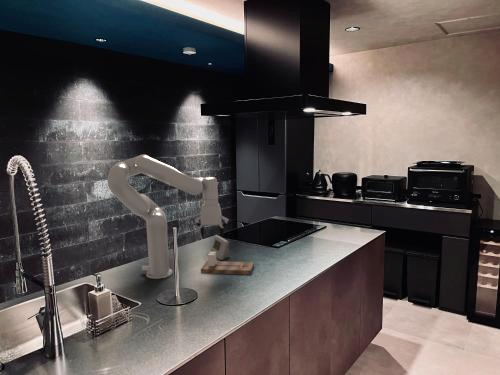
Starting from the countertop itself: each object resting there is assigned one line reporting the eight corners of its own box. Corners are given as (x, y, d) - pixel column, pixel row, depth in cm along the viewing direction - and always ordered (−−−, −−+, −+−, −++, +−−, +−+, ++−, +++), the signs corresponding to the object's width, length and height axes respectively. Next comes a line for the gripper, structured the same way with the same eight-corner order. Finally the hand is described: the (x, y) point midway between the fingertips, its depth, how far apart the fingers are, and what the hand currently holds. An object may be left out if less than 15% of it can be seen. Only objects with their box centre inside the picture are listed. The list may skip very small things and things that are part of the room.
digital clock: (209, 252, 221) (209, 235, 220) (224, 251, 224) (224, 233, 222) (215, 261, 206) (214, 242, 205) (231, 260, 209) (231, 241, 207)
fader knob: (208, 266, 193) (207, 254, 192) (210, 262, 198) (210, 251, 197) (214, 266, 192) (213, 254, 191) (216, 263, 197) (216, 251, 196)
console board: (201, 272, 190) (200, 268, 190) (206, 264, 202) (206, 260, 201) (250, 274, 187) (250, 270, 186) (253, 266, 198) (253, 262, 198)
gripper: (191, 203, 188) (193, 237, 190) (226, 203, 185) (227, 237, 188) (195, 200, 195) (197, 233, 198) (229, 200, 193) (230, 233, 195)
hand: (212, 235), depth 193 cm, fingers open, 9 cm apart
